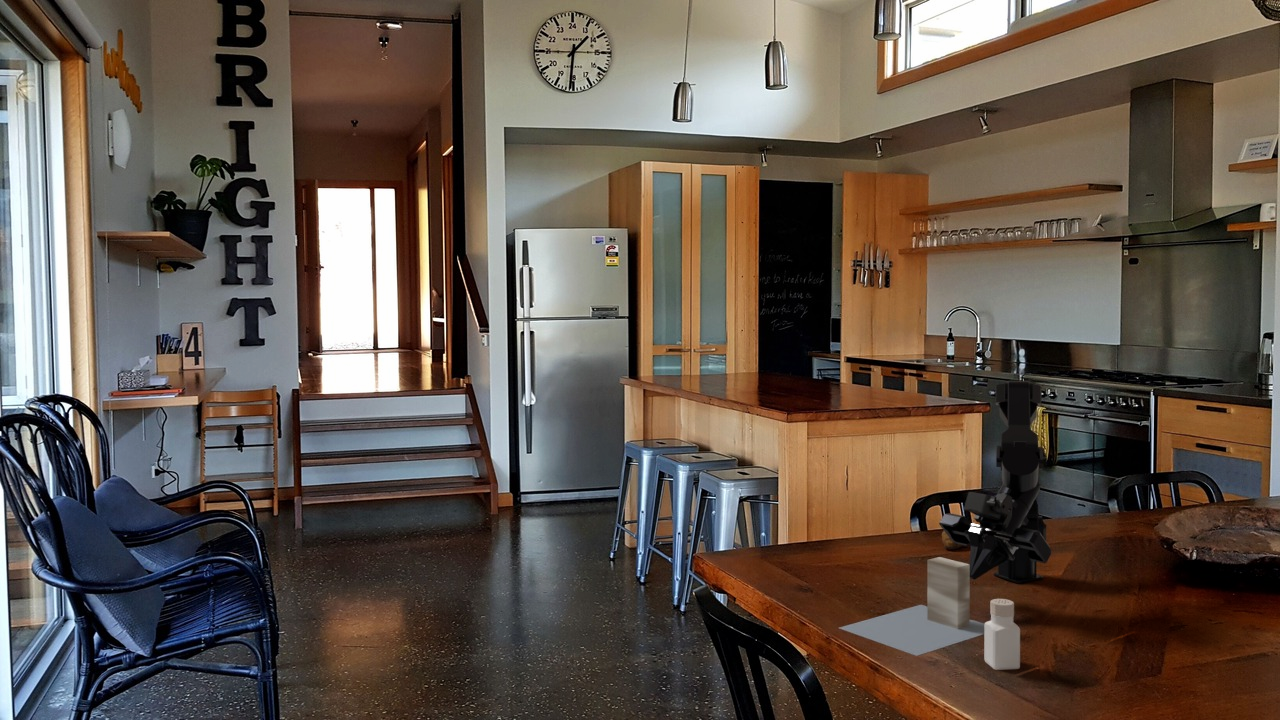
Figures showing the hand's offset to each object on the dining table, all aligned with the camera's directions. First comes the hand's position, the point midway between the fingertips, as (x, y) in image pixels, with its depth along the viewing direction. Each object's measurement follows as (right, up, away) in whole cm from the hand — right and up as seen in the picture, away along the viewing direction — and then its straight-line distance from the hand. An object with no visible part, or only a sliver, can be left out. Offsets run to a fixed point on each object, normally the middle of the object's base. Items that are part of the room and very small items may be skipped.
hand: (970, 578), depth 168 cm
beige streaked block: (-5, -7, -3) cm, 9 cm away
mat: (-10, -7, -5) cm, 13 cm away
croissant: (+13, -4, +49) cm, 51 cm away
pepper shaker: (-3, -8, -21) cm, 23 cm away
